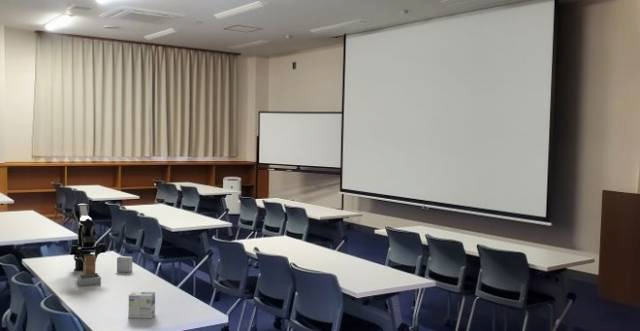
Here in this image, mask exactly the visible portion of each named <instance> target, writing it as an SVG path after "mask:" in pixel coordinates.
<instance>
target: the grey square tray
mask: <svg viewBox="0 0 640 331" xmlns="http://www.w3.org/2000/svg"><path fill="white" fill-rule="evenodd" d="M77 283H78V285H79V287H88V286H96V285H97V286H98V285H102V276H101V274H99V272H95V274H89V275H84V273H82V274H81V273H79V274H77Z"/></svg>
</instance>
